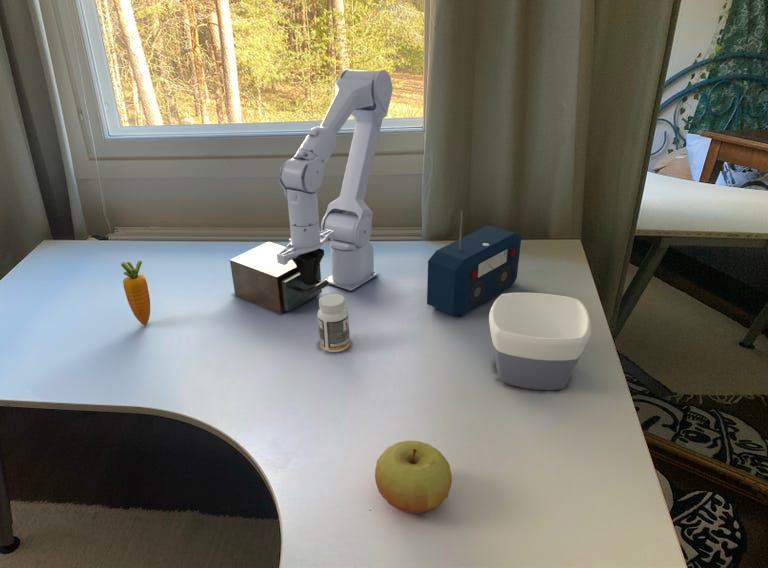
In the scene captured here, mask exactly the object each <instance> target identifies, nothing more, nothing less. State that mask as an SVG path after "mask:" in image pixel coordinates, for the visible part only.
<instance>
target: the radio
mask: <svg viewBox="0 0 768 568" xmlns="http://www.w3.org/2000/svg"><path fill="white" fill-rule="evenodd" d="M462 227H463V210H462V211H460V227H459V239H457V240H455V241H453V242H451V243H449V244H447V245H444V246H443V247H441V248H439V249H436V250H435V252H434V253H433V254H432V256H430V258H429V259H428V260H427V284H426V286H427V287H426V305H429V306H431V307H432V308H435V309H437V310H439V311H440V310H441V311H443V312H445V313H447V314H450V315H452V316H456V317H462V316H464V315H465V314H467V313H469V312H470V311H472V310H474V309H475V308H477V307H478V306H480V305H482V304H484V303H485V302H487V301H488V300H490V299H493V298H494V297H496V296H498V295H499V294H501V293H503V292H504V291H507V290H508V289H510V288H511V287H512V286H513V284H515V282H516V280H517V279H518V273H519V272H518V271H519V262H520V254H521V243H522V234H519V233H517V232H513V231H510V230H506V229H503V228H499V227H496V226H492V225H489V224H488V225H485V226H484V227H481V228H479V229H477V230H475V231H473V232H471V233H469V234H468V235H465V236H463V237H462V231H463V229H462Z"/></svg>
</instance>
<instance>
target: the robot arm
mask: <svg viewBox="0 0 768 568" xmlns="http://www.w3.org/2000/svg"><path fill="white" fill-rule="evenodd" d="M334 85H335V86H334V91H335V92H334V93H335V95H334V97H333V100H332V102H331V104H330V105H329V107H328V110H327V112H326V114H325V116H324V118H323V120H322V121H321V124H320V125H319V126H314V127H311V129H310V130H309V132H308V134H307V135H306V137H305V139H304V140H303V141H302V143H301V145H300V146H299V148H298V150H297V151H296V153H295V155H294V156H293V157H292V158H291V157H290V158H289V159H287V160H286V161H284V163H282V165H281V167H280V171H279V176H278V183H279V185H280V187H281V188H282V190H283V193H284V194H283V196H284V197H285V198H286V199H287V209H288V219H289V229H290V231H289V232H290V238H289V239H288V244H287V245H286V246H284V247H285V248H284V249H283V250H282V251H281V252H279V253H278V254H277V261H278V263H280V264H283V265H286V264H288V261H290V260H293V262H294V263H295V264H296V266H297V268H298V270H299V272H300V274H301V277H302V280H303V283H304V284H307V285H309V286H311V285H313V284H315V280H316V275H317V271H318V267H319V264H320V265H321V262H322V260H323V258H324V256H325V250H324V249H323V248H321V247H322V246H323V245H324V244H325V243H326V244H327V245H329V247H330V261H331V263H330V264H331V275H330V276H328V277H326V278H325V279H323V280H327V281H328V282H329V285H333V286H335V287H338V288H340V289H343V290H345V291H346V290H347V291H348V292H349V291H350V292H351V291H354V290H356V289H357V288H359V287H360V286H361V285H363V284H365V283H366V282H368V281H370V280H371V279H373V278H375V277H376V276H378V273H377V272H375V270H374V269H375V263H374V262H375V261H374V258H375V257H374V246H373V244H372V242H371V240H370V238H371V237H372V232H373V226H372V223H373V215H374V213H373V211H372V210H371V209H370V207H369V206H368V205H367V203H366V202H365V197H366V194H367V189H368V184H369V181H370V175H371V171H372V167H373V163H374V159H375V155H376V150H377V145H378V142H379V136H380V132H381V129H382V125H383V124H382V123H383V120H384V118H386V117H388V112H389V108H390V103H391V99H392V95H393V91H394V87H393V83H392V79H391V76H390V73H389V72H388V71H387V70H385V69H381V70H367V69H364V70H363V69H351V68H344V69H343V70H342V71H341V72H340V73H339V75H338V77H337V80H335V84H334ZM351 116H352V117H353V118H354V120H355V126H354V131H353V135H352V138H351V139H352V140H351V145H350V148H349V149H350V150H349V153H348V156H347V163H346V166H345V170H344V171H345V172H344V175H343V179H342V183H341V189H340V193H339V197H337V198H335V199H334V200H332V201H331V202H330V203H328V205H327V208H326V211H325V214H324V216H323V217H322V219H321V222H320V216H319V214H320V213H319V198H318V190H319V189H320V188H321V186H322V183H323V179H324V174H325V170H326V167H325V166H326V164H327V162H328V161H329V159H330V157H331V156H332V155H333V152H334V151H335V149H336V148H337V146H338V141H337V138H336V136H337V134H338V133H339V132H340V131H341V129H342V128H343V126H344V125H345V124H346V122H347V121H348V119H349V118H350V117H351ZM354 214H356V215H354Z"/></svg>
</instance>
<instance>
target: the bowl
mask: <svg viewBox="0 0 768 568" xmlns="http://www.w3.org/2000/svg"><path fill="white" fill-rule="evenodd" d="M488 323H489V329H490V330H489V331H490V337H491V341H492V348H493V354H494V360H495V367H496V372H497V376H498V378H499V380H500V381H501V382H502V383H503V384H506V385H509V386H514V387H518V388H522V389H527V390H537V391H555V390H556V391H557V390H563V389H564V388H566V386H567V384H568V381H570V377H571V376H572V374H573V372H574V369H575V367H576V365H577V363H578V361H579V360H580V357H581V356H582V354H583V352H584V349H585V348H586V346H587V343H588V341H589V340H590V338H591V333H592V321H591V319H590V315H589V312H588V310H587V308H586V306H585V305H584V304H583V302H582V301H580V299H578V298H574V297H570V296H565V295H559V294H552V293H541V292H508V293H507V292H505V293H502V294H501V293H500V295H499V296H498V297H497V298H496V299H495V300H494V301H493V304H492V305H491V308H490V310H489V314H488Z"/></svg>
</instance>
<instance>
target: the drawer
mask: <svg viewBox="0 0 768 568" xmlns="http://www.w3.org/2000/svg"><path fill="white" fill-rule="evenodd" d="M280 284H281V293H282V303H283V305H284V310H286V311H285V312H290V311H292V310H293V309H295V308H297V307H299V306H301V305H302V304H305V303H306V302H308V301H309V300H311V299H313V298H314V297H316V296H318V295H319V294H321V293H322V292H323V289H325V288H327V287H328V286H329V285H330V284H329V282H328V281H327V280H324V279H323V280H322V272H321V263H320V264H319V267H318V271H317V275H316V280H315V284H313V285H311V286H309V285H307V284H304V283H303V280H302V277H301V274H300V272H299V270H296V271H295V272H293V273H291V274H289V275H287V276H285V277H283V278H282V279H280Z"/></svg>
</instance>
